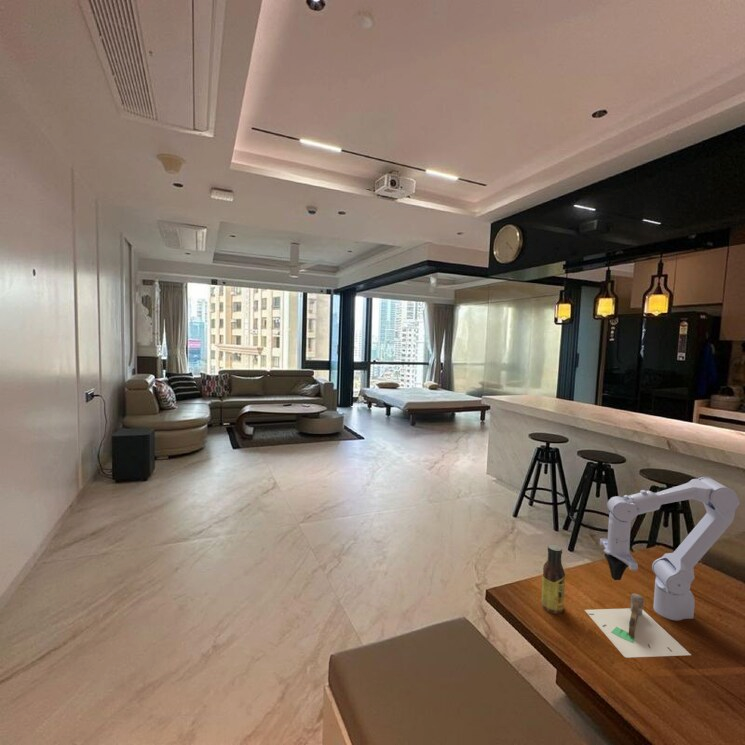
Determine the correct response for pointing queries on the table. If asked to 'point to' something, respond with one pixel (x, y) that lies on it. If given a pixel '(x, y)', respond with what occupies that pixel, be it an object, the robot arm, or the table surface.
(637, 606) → the tuning lever
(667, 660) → the table surface
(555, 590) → the sauce bottle
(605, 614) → the tuner dial board
